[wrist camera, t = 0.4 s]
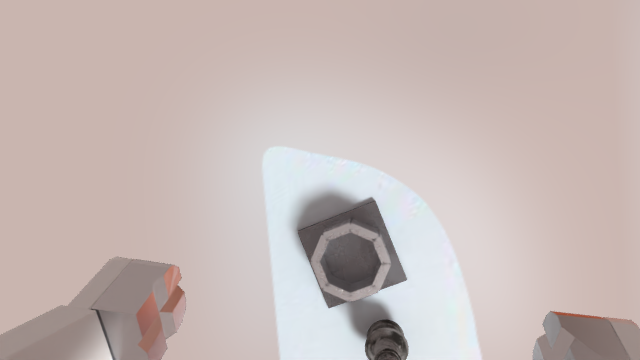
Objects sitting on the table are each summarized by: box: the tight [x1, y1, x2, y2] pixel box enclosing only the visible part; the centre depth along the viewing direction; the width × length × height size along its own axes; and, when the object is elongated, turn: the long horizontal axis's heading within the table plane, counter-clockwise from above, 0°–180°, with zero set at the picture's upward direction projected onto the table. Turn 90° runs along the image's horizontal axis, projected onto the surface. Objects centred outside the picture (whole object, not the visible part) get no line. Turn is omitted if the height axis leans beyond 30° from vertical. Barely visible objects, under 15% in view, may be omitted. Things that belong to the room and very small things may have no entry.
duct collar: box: [298, 201, 407, 308], centre depth 59 cm, size 12×12×5 cm
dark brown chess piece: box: [365, 320, 408, 360], centre depth 56 cm, size 6×6×12 cm
